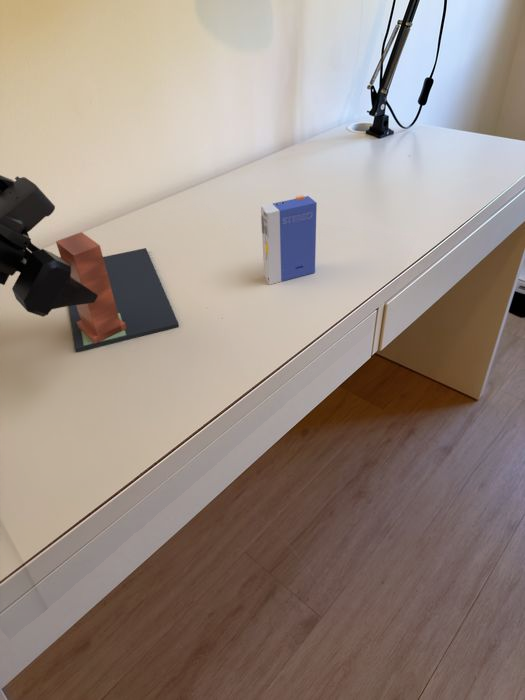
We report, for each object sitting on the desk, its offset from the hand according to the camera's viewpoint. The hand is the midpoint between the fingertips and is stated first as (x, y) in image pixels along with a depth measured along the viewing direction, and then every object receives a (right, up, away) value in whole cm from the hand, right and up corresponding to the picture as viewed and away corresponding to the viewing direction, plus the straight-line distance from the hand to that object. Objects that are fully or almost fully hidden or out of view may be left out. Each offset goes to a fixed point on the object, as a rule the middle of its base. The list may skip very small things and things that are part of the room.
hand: (79, 284), depth 67 cm
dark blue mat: (+1, 0, +13) cm, 13 cm away
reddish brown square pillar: (+1, -5, +6) cm, 8 cm away
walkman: (+28, +3, +16) cm, 32 cm away
